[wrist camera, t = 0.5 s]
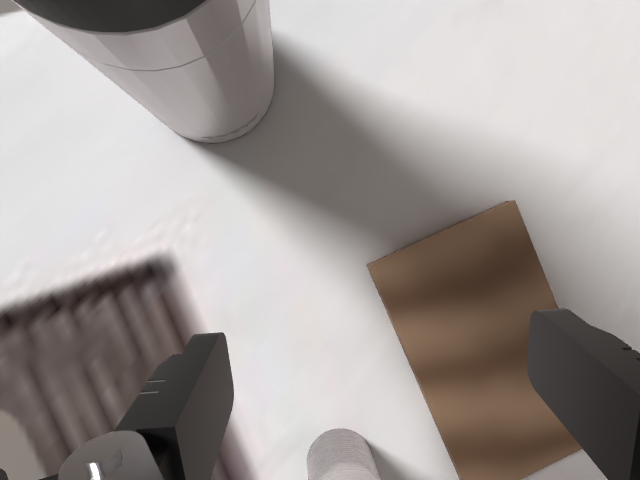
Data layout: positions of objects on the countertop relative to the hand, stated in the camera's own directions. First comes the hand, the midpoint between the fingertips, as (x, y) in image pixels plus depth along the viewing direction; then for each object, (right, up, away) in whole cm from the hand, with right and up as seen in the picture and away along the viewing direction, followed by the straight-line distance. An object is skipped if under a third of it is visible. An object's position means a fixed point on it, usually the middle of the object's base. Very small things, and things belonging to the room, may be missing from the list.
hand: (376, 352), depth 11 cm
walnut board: (+11, -6, +21) cm, 25 cm away
